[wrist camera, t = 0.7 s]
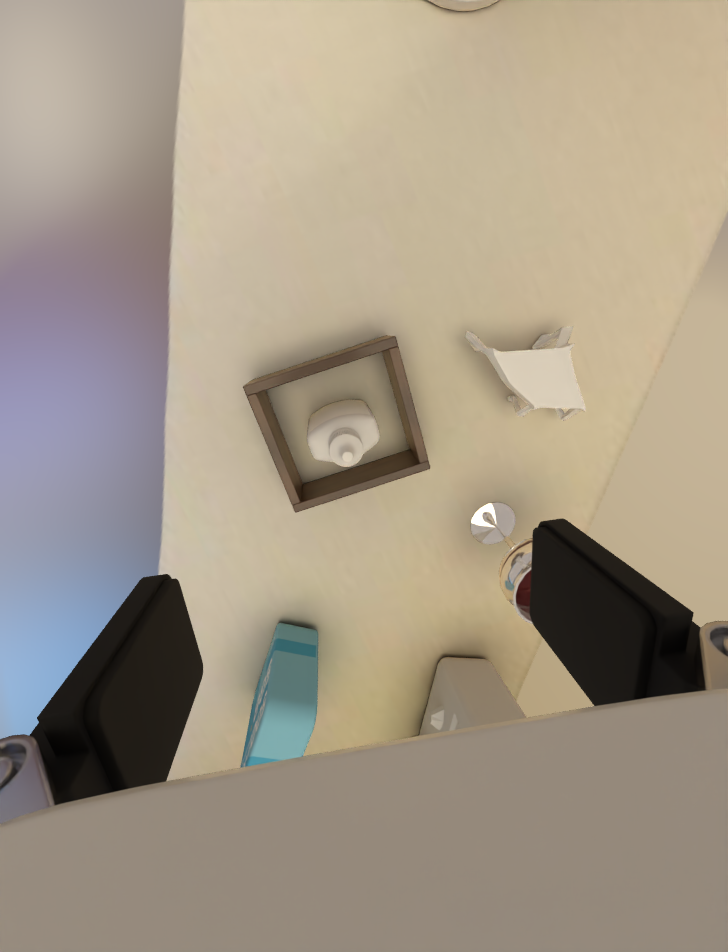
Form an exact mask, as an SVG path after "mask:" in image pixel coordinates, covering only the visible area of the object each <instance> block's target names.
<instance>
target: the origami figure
mask: <svg viewBox="0 0 728 952" xmlns="http://www.w3.org/2000/svg"><path fill="white" fill-rule="evenodd" d="M573 327H574V326H568V327H562V328H560V329H559V330H557V331H556V332H554V333H553V334H551V335H550V334H546V335H541V336H540V338H539V339H538V340H537V341H536V343H535V344H534V345H533V349H536V350H520V351H505V352H500V351H498V350H496V349H494V348H487V347H486V346H485V345H484V344H483V343H482V342H481V341H480V340H479V337H476V336H475V335H474V334H473V333H472V332H469V331H466V335H465V338H466V339H467V340H468V342H469V343H470V345H471V346H472V347H473V349H474V350H475V351H477V352H480V351H482V352H483V353H484V354H485V355H487V357H488V358H489V360H490V362H491V363H492V365H493V367H494V368H495V370H496V372H497V373H498V375H499V377H500V378H501V380H502V382H503V383H504V384H505V385H506V386H507V387H508V388H510V389H511V390H512V391H513V392H514V393H515V394H516V395H517V396H519V397H520V398H521V399H522V400H523V401H525V402H526V403H527V404H528V405H527V406H525V407H524V408H522V409H521V408H520V405H519V403H518V400H517V398H516V397H515V396H509V397H508V398H507V400H508V401H511V402H513V404H514V407H515V411H516V414H517V416H524V415H526V414H527V413H528V412H530V411H531V410H532V409H534V410H535V409H538V408H554V409H555V411H556V412H557V414H558V416H559V418H560V420H563V421H564V420H566V419H568V418H570V417H572V416H574V415H575V414H577V413H578V412H580V411H586V408H585V404H584V401H583V398H582V394H581V391H580V389H579V386H578V383H577V380H576V376H575V372H574V367H573V363H572V358H571V354H570V350H571V349H572V347H573V346H574V344H567V343H568V340H569V338H570V335H571V332H572V330H573ZM557 339H558V340H557ZM555 340H557V343H556V345H555V348H551V349H540V348H542V347H544V346H545V345H547V344H549V343H551V342H553V341H555ZM561 408H569V410H568V411H567V412H566V413H564V412H563V410H562V409H561Z"/></svg>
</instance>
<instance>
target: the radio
mask: <svg viewBox="0 0 728 952" xmlns="http://www.w3.org/2000/svg"><path fill="white" fill-rule="evenodd" d="M522 718H526V716H525V714H524V713H523V712H522V710H521V708H520V707H519V705H518V704H517V702H516V700H515V699H514V697H513V696H512V694H511V693H510V691H509V690H508V688H507V687H506V685H505V683H504V682H503V680H502V679H501V677H500V676H499V674H498V673H497V671H496V669H495V668H494V666H493V665H492V663H491V662H490V661H488V660H486V659H475V658H453V657H445V658H443V659H441V660H440V662H439V663H438V666H437V670H436V674H435V677H434V681H433V685H432V689H431V692H430V696H429V700H428V704H427V707H426V711H425V715H424V719H423V722H422V726H421V730H420V734H419V736H422V735H428V734H434V733H439V732H445V731H451V730H457V729H463V728H468V727H474V726H480V725H486V724H492V723H498V722H504V721H510V720H516V719H522ZM415 737H416V736H415Z"/></svg>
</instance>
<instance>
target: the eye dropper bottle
mask: <svg viewBox="0 0 728 952" xmlns="http://www.w3.org/2000/svg"><path fill="white" fill-rule="evenodd" d="M379 439H380V433H379V429H378V425H377V422H376V419H375V417H374V415H373V414H372V412H371V410H370V409H369V407H368V405H367V404H366V402H364V401H361V400H341V401H336V402H333V403H330V404H328V405H326V406H324V407H322V408H320V409H319V410H317V411H316V412H315V413H314V414H313V415H311V417H310V418H309V423H308V430H307V442H308V445H309V448H310V451H311V454H312V456H313V457H314V459H316V460H319V461H325V462H335V463H336V464H338V465H339V466H342V467H350V466H352V465H355V464H357V463H358V462H359V460H360V459H361V458H362V456H363V454H364V453H365V452H367V451H368V450H370V449H371V448H372V447H373V446H375V445H376V444H377V443H378V441H379Z"/></svg>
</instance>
